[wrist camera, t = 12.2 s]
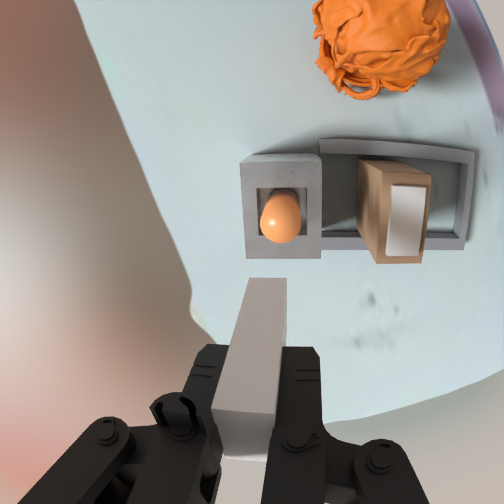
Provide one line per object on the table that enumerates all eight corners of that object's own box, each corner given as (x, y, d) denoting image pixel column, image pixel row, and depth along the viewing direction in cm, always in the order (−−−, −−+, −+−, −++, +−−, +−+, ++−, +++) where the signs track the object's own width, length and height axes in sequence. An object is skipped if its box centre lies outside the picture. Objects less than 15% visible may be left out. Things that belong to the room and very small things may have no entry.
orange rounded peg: (265, 188, 29) (258, 204, 23) (299, 188, 28) (301, 203, 23) (267, 220, 30) (261, 243, 24) (300, 220, 29) (301, 243, 24)
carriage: (358, 158, 31) (385, 173, 21) (395, 160, 30) (434, 176, 21) (355, 226, 34) (377, 266, 24) (391, 227, 33) (423, 266, 24)
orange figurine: (418, 64, 25) (510, 29, 9) (359, 121, 29) (426, 119, 13) (346, -2, 23) (383, -88, 7) (284, 54, 28) (272, -17, 11)
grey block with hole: (251, 154, 33) (239, 162, 25) (315, 153, 32) (321, 161, 24) (256, 230, 36) (246, 258, 29) (315, 230, 35) (320, 258, 28)
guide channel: (319, 138, 31) (320, 139, 29) (466, 150, 28) (475, 152, 26) (319, 243, 36) (320, 249, 34) (456, 243, 33) (463, 249, 31)
